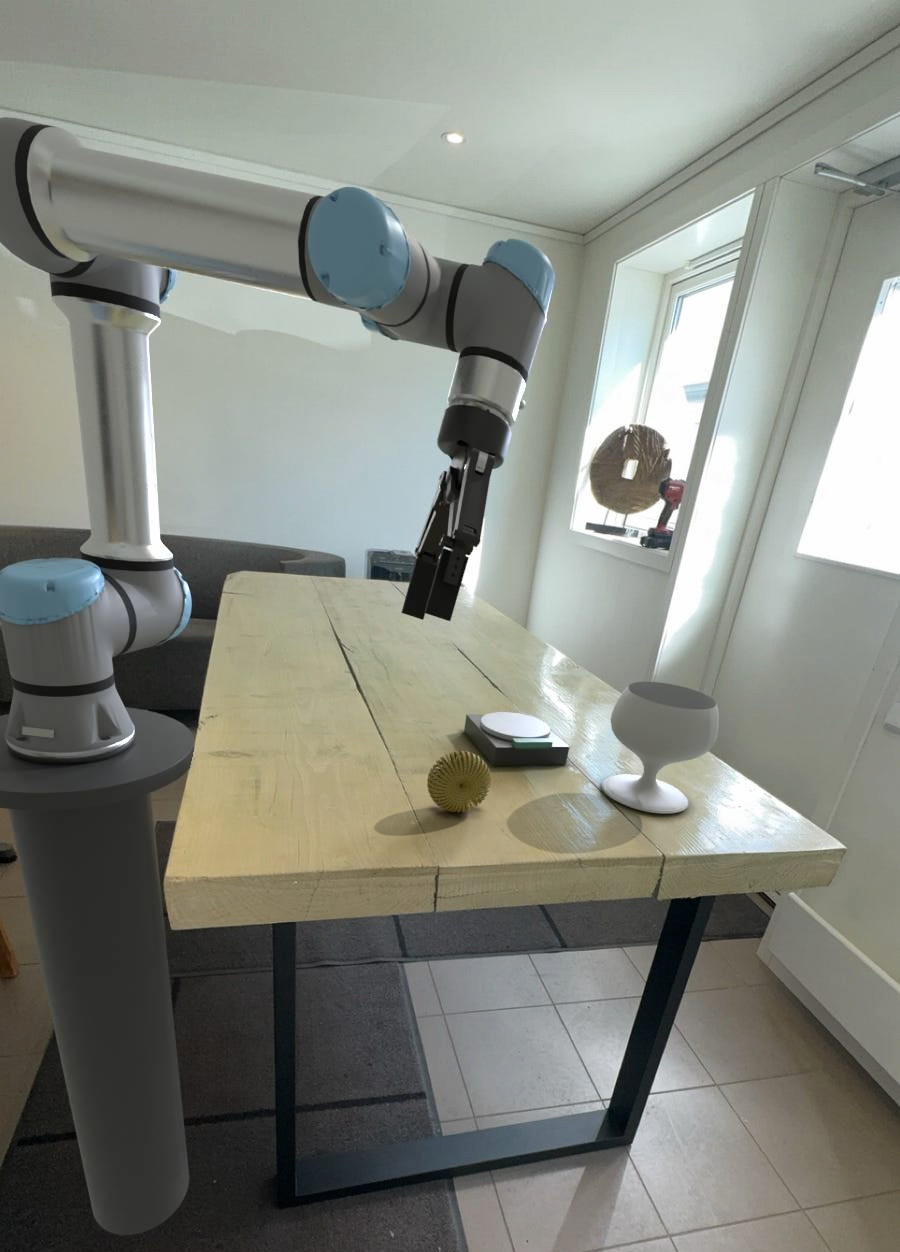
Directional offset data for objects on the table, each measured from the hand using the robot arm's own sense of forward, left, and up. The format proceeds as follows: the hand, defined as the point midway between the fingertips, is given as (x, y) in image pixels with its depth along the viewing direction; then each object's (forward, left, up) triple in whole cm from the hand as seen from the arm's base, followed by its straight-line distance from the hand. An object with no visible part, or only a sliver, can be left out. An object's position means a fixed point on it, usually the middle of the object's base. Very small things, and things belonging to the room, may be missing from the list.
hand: (423, 617), depth 74 cm
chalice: (+1, +35, -23) cm, 42 cm away
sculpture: (+3, +6, -23) cm, 24 cm away
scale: (-17, +22, -23) cm, 36 cm away
